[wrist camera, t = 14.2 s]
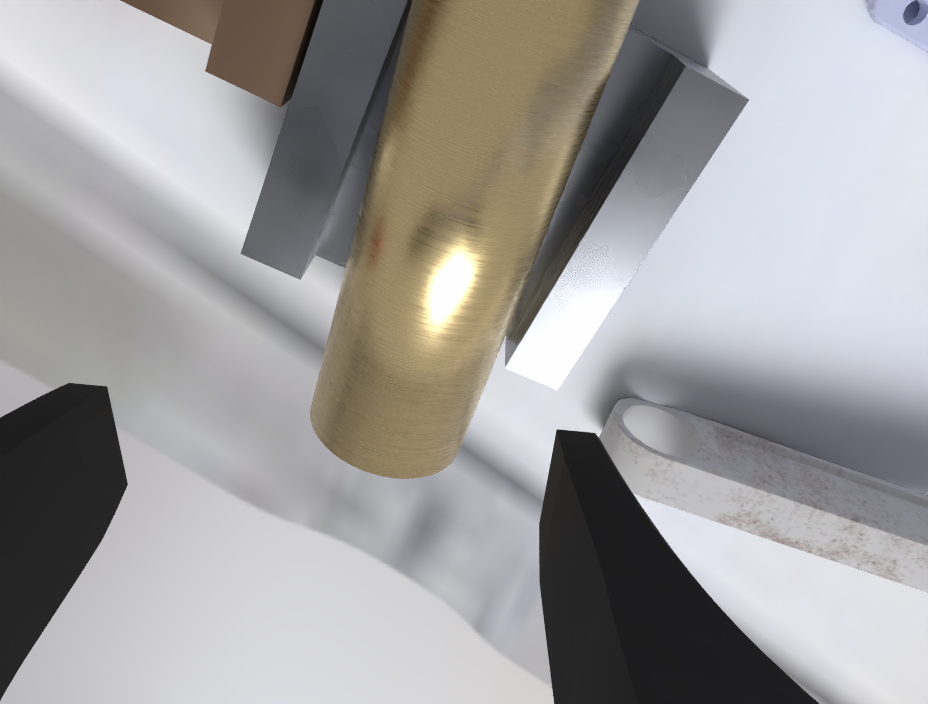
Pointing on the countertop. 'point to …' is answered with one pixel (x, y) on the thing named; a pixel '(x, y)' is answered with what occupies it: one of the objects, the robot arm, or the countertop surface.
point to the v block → (580, 207)
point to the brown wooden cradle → (247, 38)
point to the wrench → (770, 490)
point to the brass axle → (456, 218)
